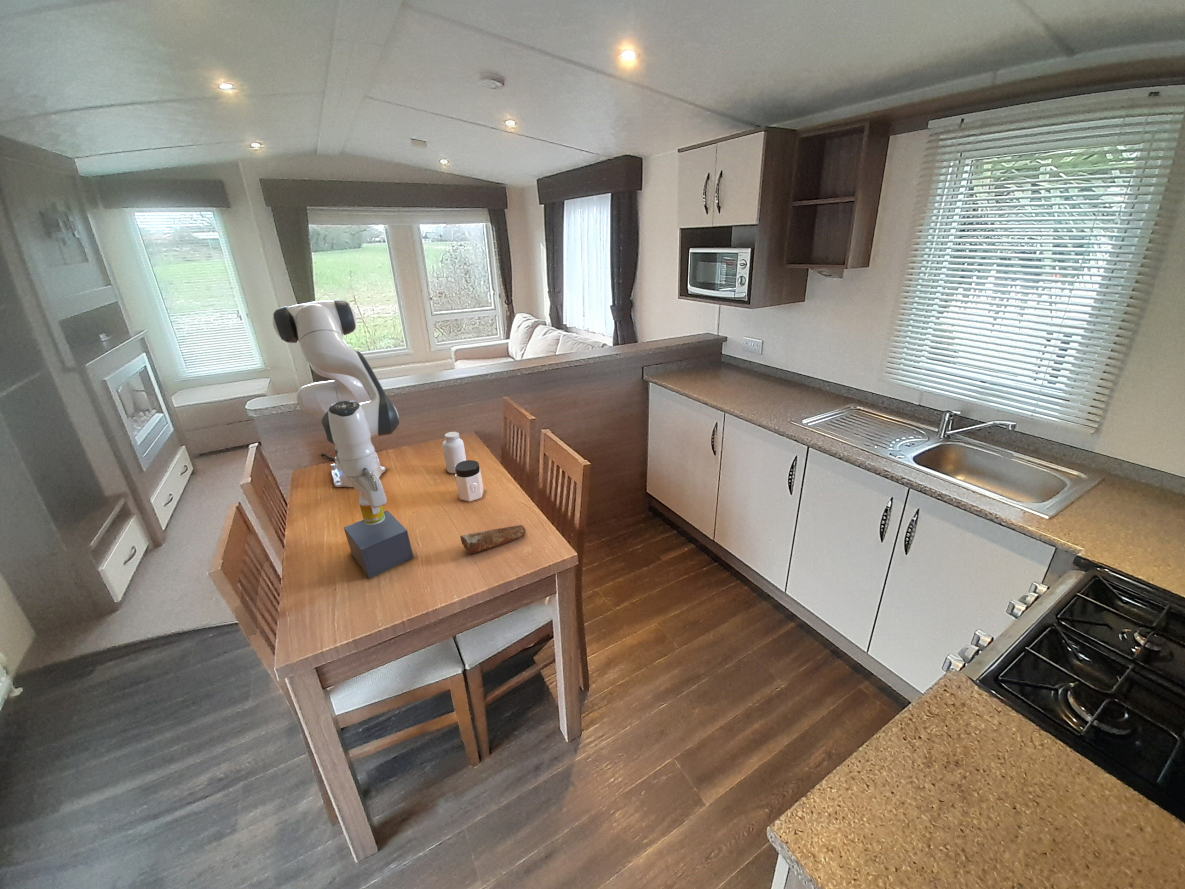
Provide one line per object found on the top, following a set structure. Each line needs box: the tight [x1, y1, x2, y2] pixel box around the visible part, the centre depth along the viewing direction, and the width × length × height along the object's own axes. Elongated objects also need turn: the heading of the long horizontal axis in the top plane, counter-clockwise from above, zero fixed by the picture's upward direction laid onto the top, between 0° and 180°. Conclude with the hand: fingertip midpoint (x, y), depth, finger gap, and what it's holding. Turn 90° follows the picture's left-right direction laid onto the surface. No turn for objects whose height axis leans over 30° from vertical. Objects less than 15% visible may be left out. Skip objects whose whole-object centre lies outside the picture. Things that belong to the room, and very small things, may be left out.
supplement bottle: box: [358, 492, 385, 525], centre depth 130 cm, size 5×5×10 cm
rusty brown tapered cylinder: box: [460, 524, 527, 555], centre depth 141 cm, size 6×19×6 cm, turn 115°
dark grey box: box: [343, 509, 414, 579], centre depth 137 cm, size 15×13×10 cm
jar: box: [454, 459, 484, 503], centre depth 166 cm, size 9×8×12 cm
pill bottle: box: [441, 431, 467, 474], centre depth 184 cm, size 8×8×15 cm
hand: (371, 507), depth 130 cm, fingers closed on supplement bottle, 5 cm apart
